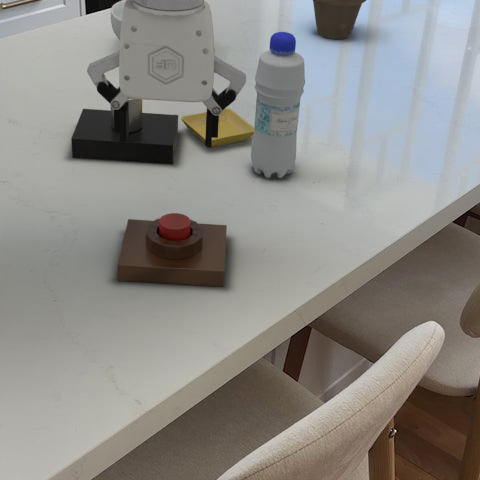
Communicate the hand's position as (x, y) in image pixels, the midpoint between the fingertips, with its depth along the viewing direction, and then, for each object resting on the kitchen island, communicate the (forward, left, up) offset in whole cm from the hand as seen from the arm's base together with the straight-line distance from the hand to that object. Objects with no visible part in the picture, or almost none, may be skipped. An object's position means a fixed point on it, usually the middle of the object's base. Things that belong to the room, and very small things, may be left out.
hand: (166, 139), depth 102 cm
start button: (+1, -5, -9) cm, 11 cm away
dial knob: (-8, +24, -10) cm, 27 cm away
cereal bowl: (-7, +63, -13) cm, 65 cm away
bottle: (+13, +19, -13) cm, 27 cm away
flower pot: (+26, +78, -13) cm, 83 cm away
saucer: (+5, +29, -13) cm, 32 cm away
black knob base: (-8, +24, -13) cm, 28 cm away
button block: (+1, -5, -13) cm, 14 cm away
